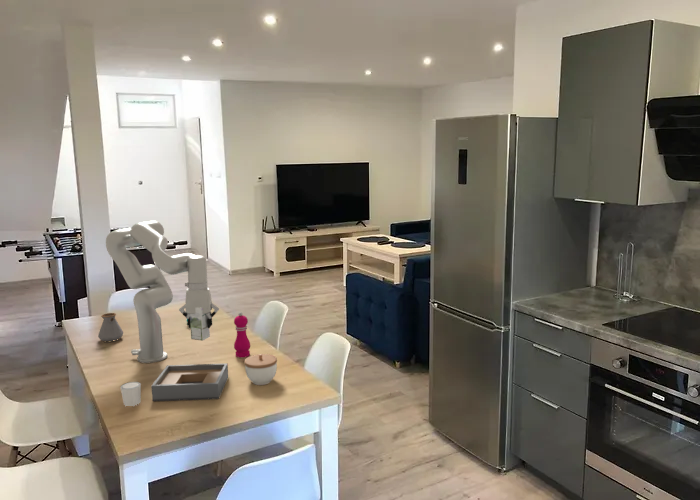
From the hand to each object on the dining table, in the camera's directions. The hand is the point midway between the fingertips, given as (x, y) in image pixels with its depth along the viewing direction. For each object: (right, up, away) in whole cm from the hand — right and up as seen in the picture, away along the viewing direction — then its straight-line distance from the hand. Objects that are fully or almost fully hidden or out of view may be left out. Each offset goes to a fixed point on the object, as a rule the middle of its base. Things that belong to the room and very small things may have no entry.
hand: (200, 326), depth 227 cm
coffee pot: (-53, -13, +39) cm, 67 cm away
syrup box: (0, -5, +1) cm, 5 cm away
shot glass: (-17, -24, -28) cm, 41 cm away
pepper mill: (+14, -16, +18) cm, 28 cm away
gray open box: (+2, -21, -17) cm, 27 cm away
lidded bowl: (+28, -20, -11) cm, 36 cm away
